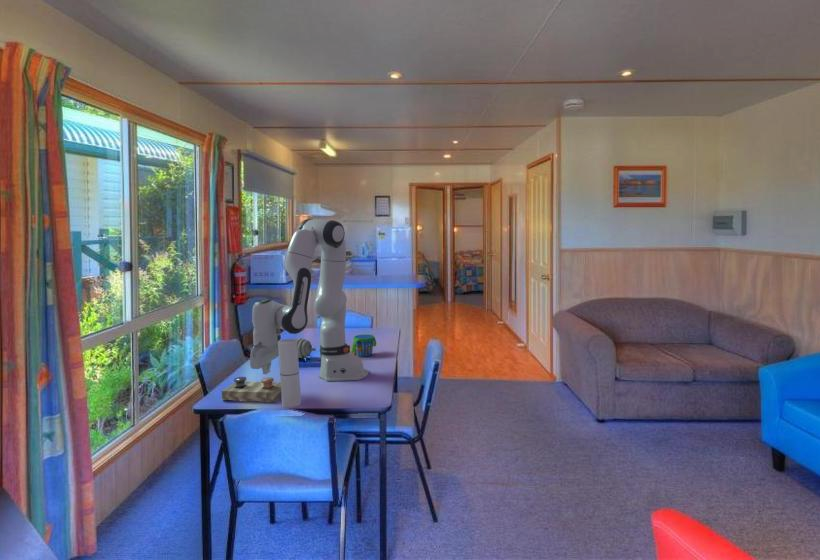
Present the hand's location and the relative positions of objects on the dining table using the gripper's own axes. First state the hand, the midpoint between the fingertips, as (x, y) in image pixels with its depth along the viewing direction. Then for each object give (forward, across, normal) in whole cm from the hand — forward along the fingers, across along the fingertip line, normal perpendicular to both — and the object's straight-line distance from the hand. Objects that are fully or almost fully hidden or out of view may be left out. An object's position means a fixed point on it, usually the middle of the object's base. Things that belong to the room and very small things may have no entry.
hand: (266, 373), depth 205 cm
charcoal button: (+7, +1, +12) cm, 14 cm away
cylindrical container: (+10, -7, -13) cm, 18 cm away
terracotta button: (+7, 0, 0) cm, 7 cm away
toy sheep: (+10, +53, +7) cm, 55 cm away
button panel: (+10, 0, +6) cm, 12 cm away
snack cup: (+10, +63, -24) cm, 68 cm away
